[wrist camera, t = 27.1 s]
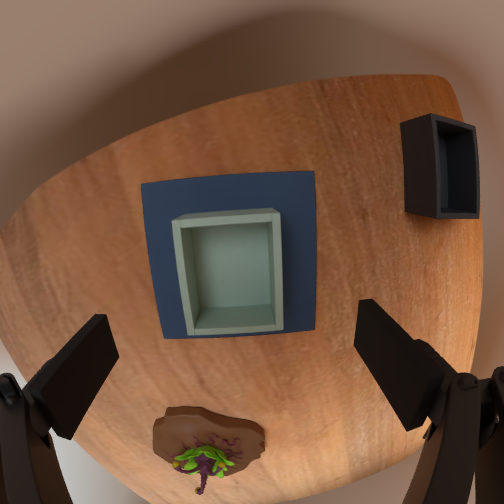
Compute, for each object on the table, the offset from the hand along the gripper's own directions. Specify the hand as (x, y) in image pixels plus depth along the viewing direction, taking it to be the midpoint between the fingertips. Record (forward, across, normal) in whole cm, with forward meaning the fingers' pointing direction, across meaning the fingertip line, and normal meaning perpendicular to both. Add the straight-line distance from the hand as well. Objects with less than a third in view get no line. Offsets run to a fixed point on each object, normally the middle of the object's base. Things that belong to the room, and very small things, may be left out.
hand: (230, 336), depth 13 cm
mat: (+20, -1, -2) cm, 20 cm away
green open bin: (+19, -1, -2) cm, 19 cm away
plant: (+19, -9, -36) cm, 41 cm away
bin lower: (+20, +26, +9) cm, 34 cm away
